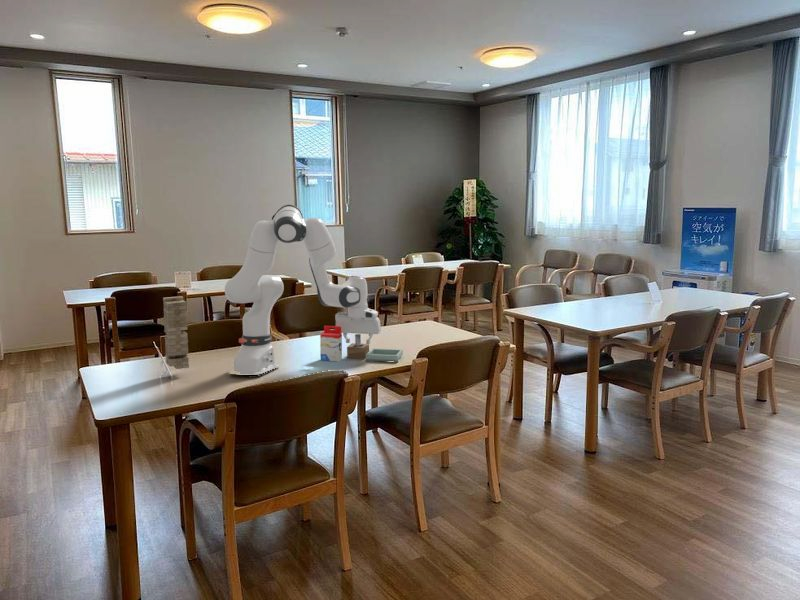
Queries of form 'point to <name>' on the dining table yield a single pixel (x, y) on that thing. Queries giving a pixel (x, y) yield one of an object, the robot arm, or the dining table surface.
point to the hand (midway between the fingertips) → (358, 343)
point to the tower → (176, 332)
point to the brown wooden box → (357, 351)
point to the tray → (384, 355)
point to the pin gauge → (358, 340)
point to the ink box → (331, 344)
